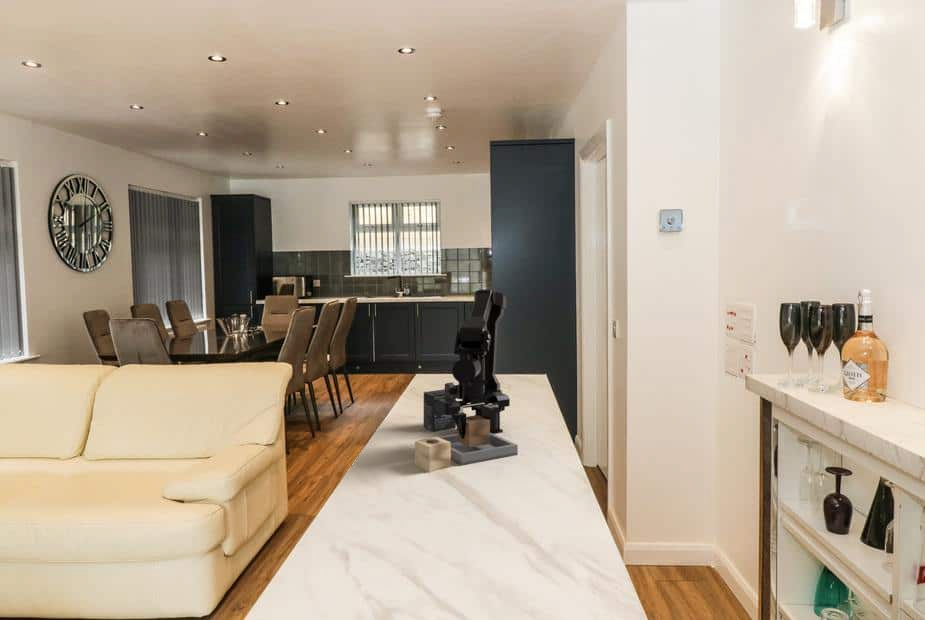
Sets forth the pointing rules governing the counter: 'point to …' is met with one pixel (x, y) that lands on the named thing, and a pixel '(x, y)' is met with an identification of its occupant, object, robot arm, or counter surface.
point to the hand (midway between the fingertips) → (473, 436)
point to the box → (436, 412)
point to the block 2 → (475, 431)
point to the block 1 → (433, 454)
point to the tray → (480, 450)
